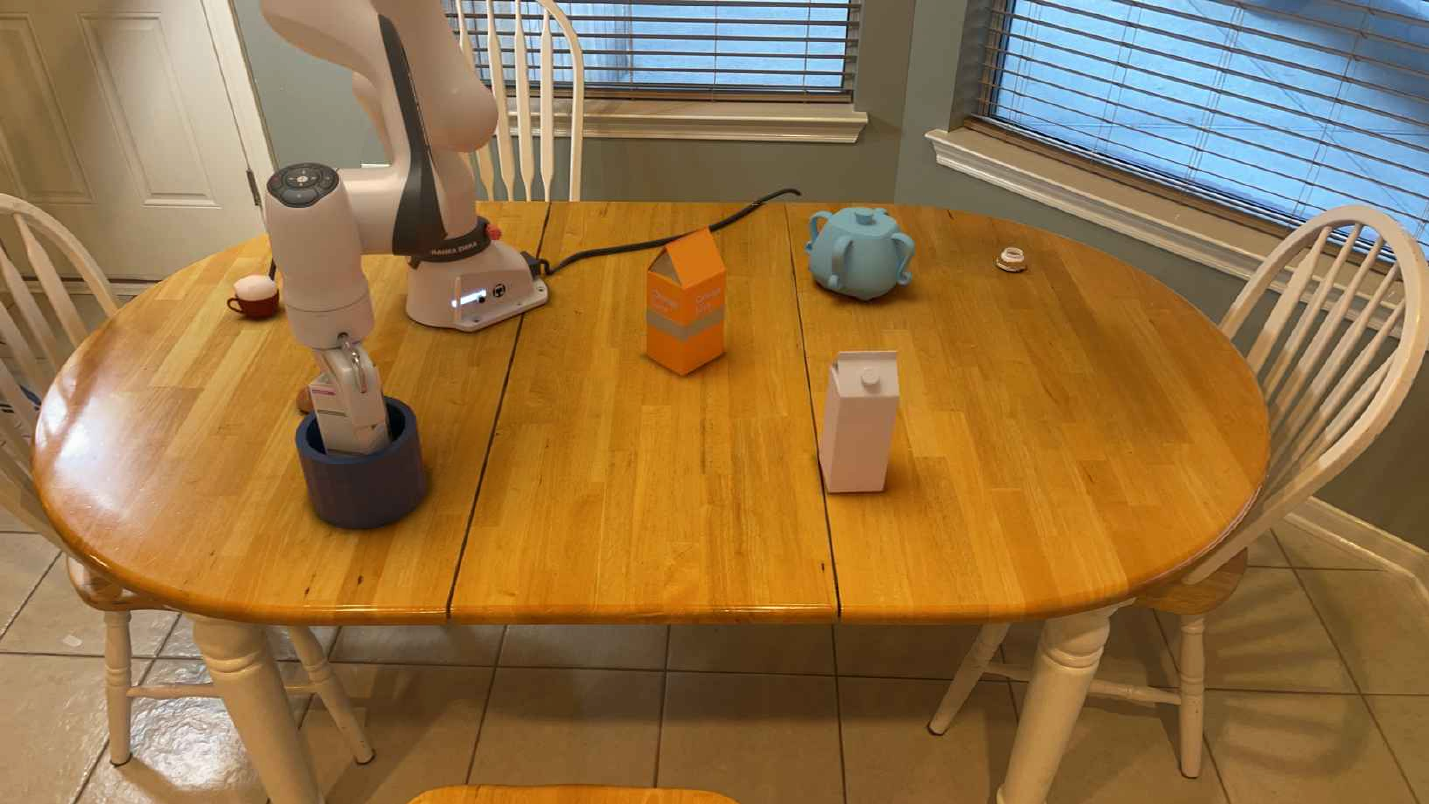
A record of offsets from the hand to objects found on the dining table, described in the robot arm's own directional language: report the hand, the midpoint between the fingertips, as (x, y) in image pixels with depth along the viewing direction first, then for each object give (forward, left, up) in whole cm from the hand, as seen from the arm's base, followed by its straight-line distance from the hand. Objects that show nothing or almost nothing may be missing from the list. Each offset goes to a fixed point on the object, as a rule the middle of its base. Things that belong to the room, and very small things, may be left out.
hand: (352, 416), depth 119 cm
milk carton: (-54, +28, -12) cm, 62 cm away
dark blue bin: (0, 0, -12) cm, 12 cm away
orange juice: (-50, -7, -12) cm, 52 cm away
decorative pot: (-87, -12, -12) cm, 89 cm away
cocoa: (+1, -50, -12) cm, 52 cm away
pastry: (-2, -20, -12) cm, 24 cm away
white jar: (-116, -4, -12) cm, 116 cm away
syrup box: (0, 0, -9) cm, 9 cm away
